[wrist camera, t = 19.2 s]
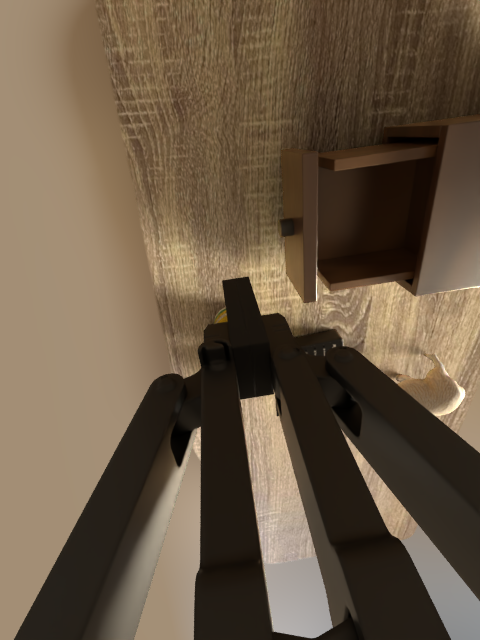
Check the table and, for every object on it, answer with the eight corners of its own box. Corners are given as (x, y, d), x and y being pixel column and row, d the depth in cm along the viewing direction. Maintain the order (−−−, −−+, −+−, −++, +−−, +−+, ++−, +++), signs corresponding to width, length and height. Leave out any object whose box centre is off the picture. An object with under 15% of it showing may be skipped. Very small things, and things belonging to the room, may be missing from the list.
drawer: (275, 275, 35) (291, 305, 29) (267, 151, 29) (285, 155, 23) (402, 255, 36) (444, 281, 30) (422, 129, 29) (481, 128, 23)
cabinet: (370, 262, 37) (415, 296, 29) (383, 127, 30) (448, 124, 22) (489, 244, 37) (566, 273, 29) (531, 106, 30) (646, 96, 22)
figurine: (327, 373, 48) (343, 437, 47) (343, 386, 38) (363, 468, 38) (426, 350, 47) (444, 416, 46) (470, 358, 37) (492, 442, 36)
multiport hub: (228, 350, 41) (229, 361, 39) (336, 328, 41) (343, 338, 39) (234, 375, 43) (236, 387, 41) (337, 355, 43) (343, 365, 41)
